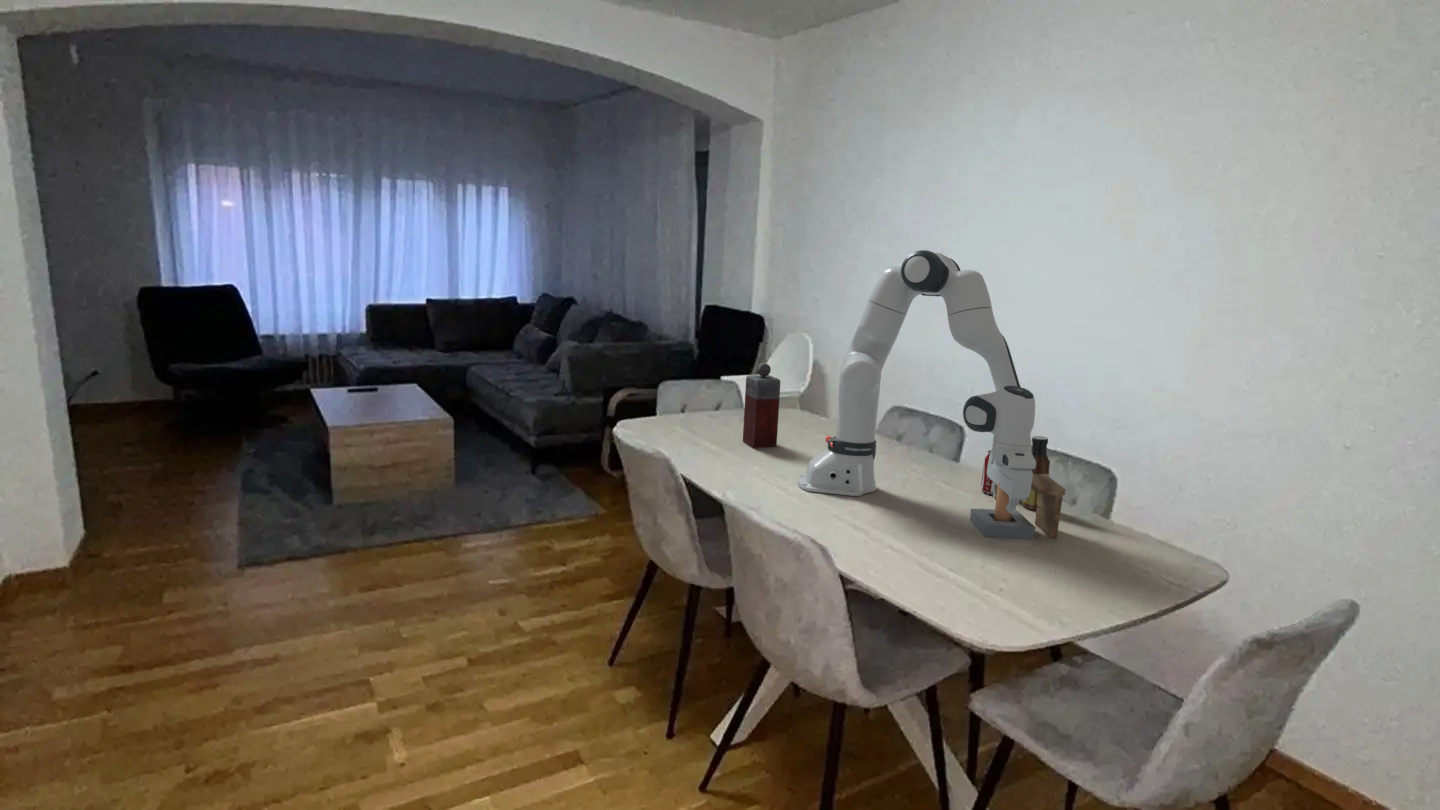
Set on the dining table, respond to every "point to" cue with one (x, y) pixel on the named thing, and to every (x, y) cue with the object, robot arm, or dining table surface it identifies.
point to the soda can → (986, 477)
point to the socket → (1002, 525)
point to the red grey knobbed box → (761, 409)
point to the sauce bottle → (1038, 468)
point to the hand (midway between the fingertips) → (1003, 505)
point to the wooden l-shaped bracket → (1047, 503)
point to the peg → (1001, 506)
